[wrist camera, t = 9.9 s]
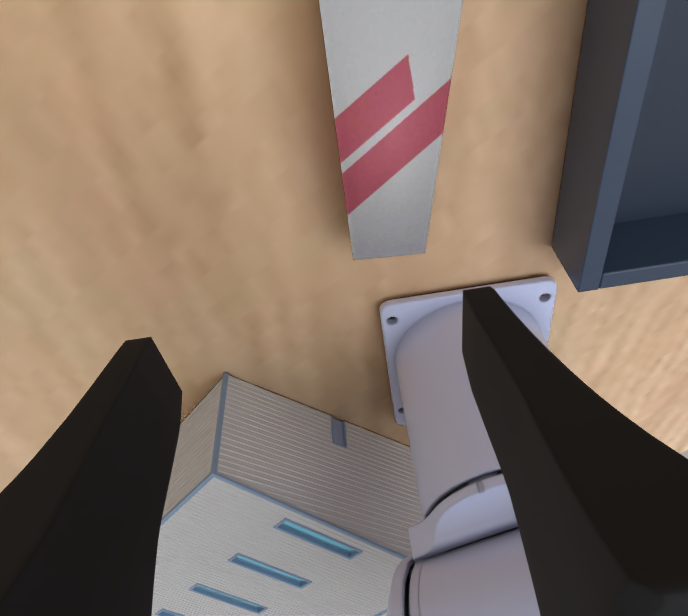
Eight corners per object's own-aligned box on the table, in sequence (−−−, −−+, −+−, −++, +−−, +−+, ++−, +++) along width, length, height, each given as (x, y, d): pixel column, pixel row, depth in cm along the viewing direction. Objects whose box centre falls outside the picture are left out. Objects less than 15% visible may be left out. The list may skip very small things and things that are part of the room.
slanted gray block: (224, 372, 27) (206, 516, 21) (428, 453, 34) (454, 579, 28) (39, 577, 42) (1, 692, 37) (204, 606, 49) (192, 707, 43)
